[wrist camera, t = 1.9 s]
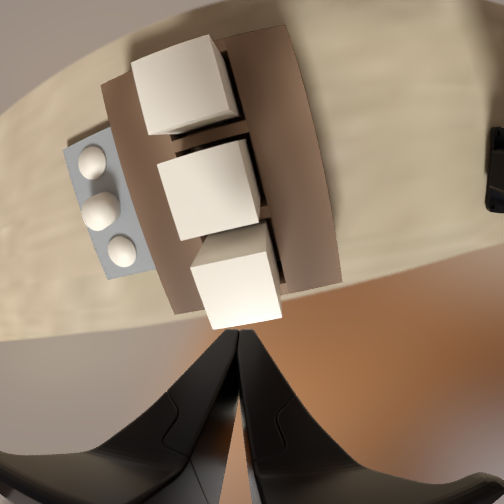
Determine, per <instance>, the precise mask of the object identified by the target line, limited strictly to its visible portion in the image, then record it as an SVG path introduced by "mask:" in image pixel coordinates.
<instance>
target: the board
mask: <svg viewBox="0 0 504 504" xmlns="http://www.w3.org/2000/svg"><path fill="white" fill-rule="evenodd" d="M213 42H214V44H215V45H216V47H217V49H218V50H219V52H220V54H221V55H222V57H223V59H224V60H225V62H226V65H227V69H228V72H229V76H230V80H231V83H232V87H233V91H234V94H235V98H236V102H237V105H238V109H239V113H240V117H239V118H235V119H232V120H228V121H224V122H221V123H217V124H213V125H210V126H206V127H203V128H200V129H196V130H193V131H190V132H187V133H184V134H162V135H148V131H147V127H146V123H145V120H144V116H143V112H142V108H141V104H140V100H139V96H138V92H137V88H136V84H135V80H134V75H133V71H130V72H127V73H125V74H123V75H121V76H119V77H116V78H114V79H112V80H110V81H108V82H106V83H104V84H102V85H101V89H102V94H103V98H104V103H105V107H106V111H107V115H108V119H109V123H110V127H111V131H112V135H113V139H114V142H115V146H116V150H117V153H118V157H119V160H120V164H121V167H122V171H123V174H124V177H125V181H126V184H127V187H128V190H129V193H130V196H131V200H132V203H133V206H134V209H135V212H136V215H137V218H138V221H139V223H140V226H141V229H142V232H143V235H144V238H145V240H146V243H147V246H148V249H149V251H150V254H151V257H152V259H153V262H154V265H155V267H156V270H157V272H158V275H159V278H160V280H161V283H162V285H163V288H164V290H165V292H166V295H167V297H168V300H169V302H170V305H171V307H172V309H173V312H174V314H181V313H187V312H193V311H199V310H205V307H204V305H203V302H202V299H201V297H200V294H199V291H198V289H197V286H196V283H195V280H194V278H193V275H192V272H191V269H190V267H191V265H192V263H193V261H194V259H195V257H196V256H197V254H198V252H199V250H200V248H201V246H202V245H203V243H204V241H205V239H206V237H207V236H208V235H203V236H199V237H195V238H191V239H187V240H183V241H181V240H180V237H179V234H178V231H177V228H176V225H175V222H174V219H173V216H172V212H171V209H170V206H169V203H168V200H167V197H166V193H165V190H164V187H163V184H162V180H161V177H160V174H159V170H158V167H157V164H159V163H162V162H165V161H169V160H172V159H175V158H178V157H181V156H184V155H188V154H191V153H194V152H198V151H201V150H205V149H208V148H212V147H215V146H219V145H222V144H226V143H230V142H234V141H238V140H243V139H246V140H247V144H248V147H249V151H250V155H251V159H252V163H253V167H254V171H255V175H256V179H257V182H258V186H259V190H260V194H261V202H260V214H259V220H260V219H265V218H266V219H267V223H268V227H269V231H270V235H271V239H272V243H273V248H274V252H275V256H276V260H277V264H278V269H279V280H280V293H281V295H285V294H290V293H294V292H299V291H304V290H309V289H313V288H318V287H323V286H327V285H332V284H336V283H340V282H342V275H341V268H340V261H339V254H338V247H337V241H336V234H335V228H334V222H333V216H332V210H331V205H330V199H329V194H328V189H327V183H326V178H325V173H324V169H323V164H322V159H321V154H320V150H319V145H318V141H317V136H316V132H315V128H314V124H313V120H312V115H311V111H310V107H309V104H308V100H307V96H306V92H305V88H304V85H303V81H302V77H301V74H300V70H299V67H298V63H297V60H296V57H295V53H294V50H293V47H292V43H291V40H290V37H289V34H288V31H287V28H286V25H283V26H277V27H271V28H266V29H261V30H256V31H252V32H247V33H243V34H239V35H235V36H231V37H227V38H223V39H219V40H216V41H213Z"/></svg>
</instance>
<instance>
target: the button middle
mask: <svg viewBox="0 0 504 504" xmlns="http://www.w3.org/2000/svg"><path fill="white" fill-rule="evenodd" d="M157 167H158V170H159V174H160V177H161V180H162V184H163V187H164V190H165V193H166V197H167V200H168V203H169V206H170V209H171V212H172V216H173V219H174V222H175V225H176V228H177V231H178V234H179V237H180V240H181V241H183V240H187V239H191V238H195V237H199V236H203V235H208V234H212V233H216V232H220V231H225V230H229V229H233V228H237V227H242V226H246V225H251V224H255V223H259V214H260V202H261V194H260V190H259V186H258V182H257V179H256V175H255V171H254V167H253V163H252V159H251V155H250V151H249V147H248V144H247V140H246V139H243V140H238V141H234V142H230V143H226V144H222V145H219V146H215V147H212V148H208V149H205V150H201V151H198V152H194V153H191V154H188V155H184V156H181V157H178V158H175V159H172V160H169V161H165V162H162V163H159V164H157Z"/></svg>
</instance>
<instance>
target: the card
mask: <svg viewBox="0 0 504 504" xmlns="http://www.w3.org/2000/svg"><path fill="white" fill-rule="evenodd" d="M63 153H64V156H65V160H66V164H67V167H68V171H69V174H70V178H71V181H72V184H73V188H74V191H75V194H76V197H77V200H78V203H79V206H80V209H81V214H82V219H83V221H84V223H85V224H86V226H87V229H88V232H89V234H90V237H91V240H92V242H93V245H94V247H95V250H96V253H97V255H98V258H99V260H100V262H101V265H102V267H103V270H104V272H105V274H106V277H107V279H108V280H110V279H114V278H118V277H123V276H127V275H132V274H136V273H141V272H146V271H150V270H155V269H156V267H155V265H154V262H153V259H152V257H151V254H150V251H149V249H148V246H147V243H146V240H145V238H144V235H143V232H142V229H141V226H140V223H139V221H138V218H137V215H136V212H135V209H134V206H133V203H132V200H131V196H130V193H129V190H128V187H127V184H126V181H125V177H124V174H123V171H122V167H121V164H120V160H119V157H118V153H117V150H116V146H115V142H114V139H113V135H112V131H111V127H108V128H106V129H104V130H102V131H99V132H97V133H95V134H93V135H91V136H89V137H87V138H85V139H83V140H81V141H79V142H77V143H75V144H73V145H71V146H69V147H67V148H65V149H64V150H63Z"/></svg>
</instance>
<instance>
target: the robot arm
mask: <svg viewBox="0 0 504 504" xmlns="http://www.w3.org/2000/svg"><path fill="white" fill-rule="evenodd" d="M496 132H497V133H498V134H497V133H496ZM491 204H492V207H491ZM486 209H487V210H488V211H490V212H494V213H504V128H501V127H492V129H491V153H490V169H489V181H488V191H487V199H486ZM239 398H240V409H241V418H242V427H243V436H244V444H245V451H246V461H247V468H248V476H249V484H250V492H251V499H252V504H492V503H494V502H495V501H496V500H497V499H499V498H500V497H501V496H502V495H503V494H504V480H502V479H501V478H499V477H497V476H494V475H490V474H486V473H483V472H478V473H475V474H472V475H469V476H467V477H464V478H462V479H460V480H457V481H454V482H451V483H445V484H427V483H421V482H417V481H412V480H408V479H404V478H400V477H396V476H392V475H389V474H385V473H381V472H378V471H374V470H371V469H369V468H366V467H364V466H363V465H361V464H359V463H358V462H356V461H355V460H354V459H353V458H352V457H351V456H350V455H348V454H347V453H346V452H345V451H344V450H343V449H342V448H341V447H340V446H339V445H338V444H337V443H336V442H335V441H334V440H333V438H331V436H330V435H329V434H328V433H327V432H326V431H325V430H324V429H323V428H322V427H321V426H320V425H319V424H318V423H317V422H316V420H315V419H314V418H313V417H312V416H311V415H310V413H309V412H308V411H307V409H306V408H305V407H304V405H303V404H302V402H301V401H300V399H299V398H298V397H297V396H296V394H295V392H294V391H293V389H292V388H291V386H290V385H289V383H288V382H287V380H286V379H285V377H284V376H283V374H282V373H281V372H280V370H279V368H278V367H277V365H276V364H275V362H274V361H273V359H272V358H271V356H270V354H269V353H268V351H267V350H266V348H265V347H264V345H263V344H262V342H261V341H260V339H259V338H258V336H257V334H256V333H255V331H254V330H252V329H242V330H240V332H239V330H238V329H226V330H225V331H224V332H223V333H222V334H221V335H220V336H219V337H218V338H217V339H216V340H215V342H213V343H212V344H211V345H210V347H209V348H208V349H207V350H206V351H205V352H204V353H203V354H202V355H201V356H200V357H199V358H198V359H197V360H196V361H195V362H194V363H193V365H191V366H190V368H188V370H187V371H186V372H185V373H184V374H183V375H182V376H181V377H180V378H179V379H178V380H177V381H176V382H175V383H174V384H173V385H172V386H171V387H170V388H169V389H168V390H167V392H165V393H164V394H163V395H162V396H161V397H160V398H159V399H158V400H157V401H156V402H155V403H154V404H153V405H152V406H151V407H150V408H148V409H147V410H146V411H145V412H144V413H142V415H140V416H139V417H138V418H136V420H134V421H133V422H131V423H130V424H129V425H127V426H126V427H125V428H123V429H122V430H121V431H119V432H118V433H117V434H115V435H114V436H113V437H111V438H110V439H109V440H107V441H106V442H104V443H103V444H101V445H100V446H98V447H96V448H94V449H92V450H89V451H86V452H80V453H70V454H56V455H55V454H54V455H13V454H8V453H4V452H2V451H0V494H1V495H3V496H4V497H5V499H4V501H3V504H219V499H220V494H221V489H222V484H223V479H224V474H225V469H226V464H227V458H228V453H229V448H230V442H231V437H232V432H233V427H234V422H235V416H236V411H237V405H238V399H239Z"/></svg>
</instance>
